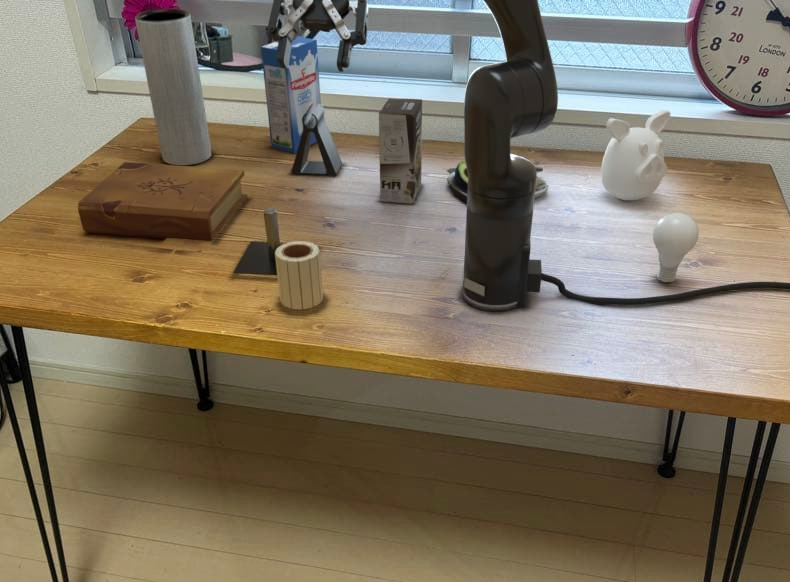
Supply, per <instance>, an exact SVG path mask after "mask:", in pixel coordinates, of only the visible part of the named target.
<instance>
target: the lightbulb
mask: <svg viewBox="0 0 790 582" xmlns="http://www.w3.org/2000/svg"><path fill="white" fill-rule="evenodd" d="M699 231H700V230H699V226H698V224H697V222H696V220H695V219H694V217H692V216H690V215H689V214H687V213H685V212H679V211H676V212H670V213H667V214H665V215H664V216H662V217H661V218H660V219H659V220H658V221H657V223H656V224H655V226H654V228H653V231H652V240H653V245H654V246H655V248H656V250H657V254H658V261H659V266H658V271H657V274H656V278H657V279H658V280H659V281H661V282H662V283H665V284H666V283H672V282H673V281H676V277H677V272H678V269H679V268H678V267H679V266H680V264H681V263H682V261H683V259H684V258H685V256H686V255H687V254H689V253H690V252H691V251H692V249H694V247H696V245H697V242H698V241H699V239H698V238H699Z"/></svg>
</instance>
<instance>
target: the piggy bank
mask: <svg viewBox="0 0 790 582" xmlns="http://www.w3.org/2000/svg"><path fill="white" fill-rule="evenodd" d="M670 119H671V111H669V110H667V109H661V110H660V111H658V112H655V113H654V114H652V115H651V116H649V117H648V118H647V120H646V121H645V127H638V126H636V127H631V125H630V124H629V122H627V121H625V120H622V119H618V118H614V117H610V118H608V119H607V122H606V131H607V134H608V135H609V136H610V137H611V139H610V140H609V142H608V145H607V147H606V149H605V152H604V154H603V158H602V162H601V166H600V179H601V183H602V187H604V190H606V192H607V193H608V194H610V195H611V196H613V197H615V198H616V199H619V200H622V201H623V200H624V201H638V200H642V199H644V198H646V197H648V196H649V197H650V195H652V194H653V193H654V192H656V190H657V189H658V188H659V186H660V184H661V182H662V180H663V178H664V177H665V176H666V175H667V172H668V166H667V163H666V162H665V151H664V145H665V143H664V140H662V139H661V138H660V137H659V135H658V134H660V133H661V132H663V130H665V128H666V127H667V125H668V124H669V121H670Z"/></svg>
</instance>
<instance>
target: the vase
mask: <svg viewBox="0 0 790 582" xmlns="http://www.w3.org/2000/svg"><path fill="white" fill-rule="evenodd" d="M134 20H135V24H136V30H137V35H138V40H139V46H140V51H141V56H142V60H143V67H144V72H145V77H146V82H147V86H148V92H149V98H150V102H151V107H152V112H153V118H154V122H155V123H154V124H155V128H156V132H157V134H156V135H157V139H158V144H159V149H160V154H161V157H162V160H163V162H165V163H166V164H167V165H176V166H193V165H198V164H201V163H203V162H204V163H205V161H208V160H209V159H210V158H211V157H212V146H211V139H210V134H209V133H210V132H209V127H208V120H207V113H206V107H205V102H204V101H205V100H204V95H203V88H202V81H201V75H200V69H199V61H198V56H197V55H198V54H197V49H196V43H195V37H194V36H195V35H194V29H193V24H192V17H191V13H190V12H189V11H187V10H186V9H185V10H184V9H179V8H159V9H158V8H157V9H151V10H145V11H142V12H140V13H137V15H136V16H135V19H134Z"/></svg>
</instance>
